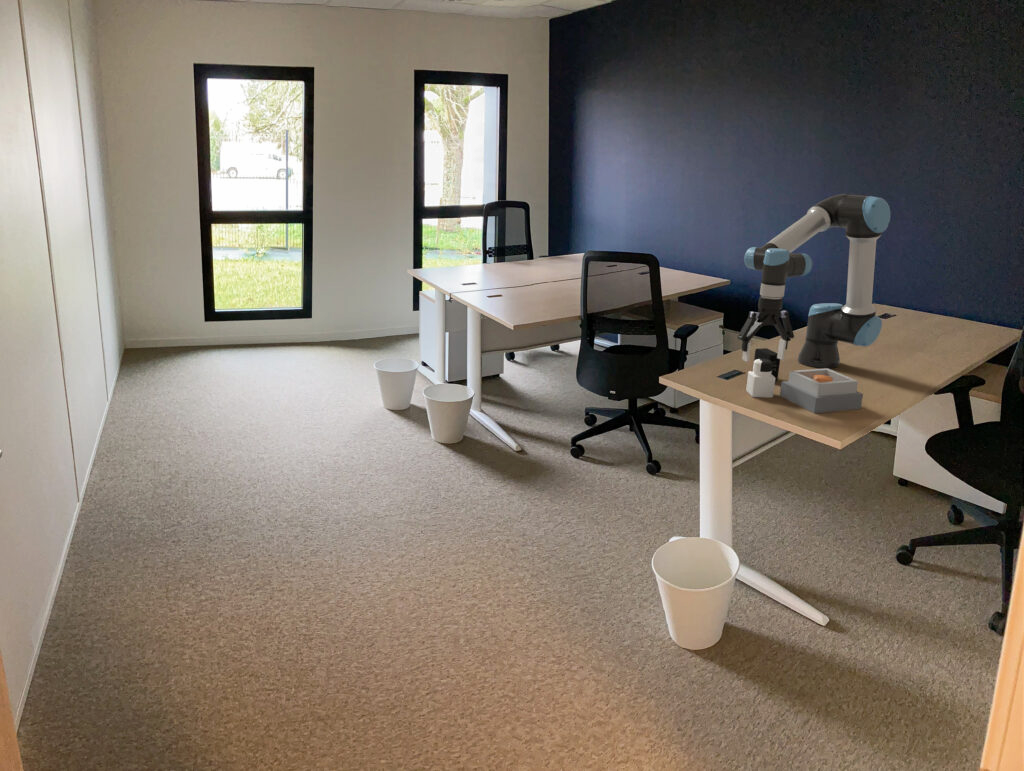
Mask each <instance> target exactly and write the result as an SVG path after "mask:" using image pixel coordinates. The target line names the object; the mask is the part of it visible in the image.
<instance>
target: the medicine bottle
mask: <svg viewBox="0 0 1024 771" xmlns="http://www.w3.org/2000/svg"><path fill="white" fill-rule="evenodd" d="M772 365H773V363H772V362H771V361H770V360H767V359H757V360H755V361H754V360H753V367H752V371H751V370H750V371H749V370H748V372H747V379H746V380H747V381H746V389H745V391H746V392H747V393H748V394H749V395H750V396H751V398H766V399H768V398H770V399H771V398H773V397H774V392H775V385H776V381H775V377H774V376H773V375H772V374H771V373H772Z"/></svg>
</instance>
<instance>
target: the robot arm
mask: <svg viewBox="0 0 1024 771" xmlns="http://www.w3.org/2000/svg"><path fill="white" fill-rule="evenodd" d="M890 222H891V209H890V205H889V204H888V202H887V201H886V199H884V198H882V197H878V196H873V195H862V194H861V195H859V194H858V195H857V194H849V193H842V194H836V195H833V196H830V197H828V198H825V199H824V200H821V201H819V202H818V203H816V204H814V205H813V206H811V207H810V208H809V209H808V210H807V212H806V214H805V215H803V216H802V217H801V218H800V219H798V220H797V221H795V222H794V223H793V224H791V225H790V226H789V227H787V228H786V229H784V230H783V231H781V232H780V233H779V234H777V235H776V236H775V237H773V238H772V239H771V240H770V241H768V242H767V243H765V244H764V245H763V246H760V247H759V246H752V247H749V248H748V249H746V252H745V254H744V257H743V259H744V260H743V261H744V265H745V267H746V268H748V269H752V270H755V271H760V272H762V276H761V281H760V282H761V283H760V289H759V295H760V296H759V298H758V304H757V307H758V311H757V312H756V311H749V312H748V316H747V318H746V321H745V323H744V325H743V326H742V328H741V329H740V332H739V333H738V336H737V339H738V340H740V341H742V342H741V351H742V358H741V360H742V361H745V362H747V363H749V362H750V355H751V354H750V353H751V346H752V342H750V341H751V340H752V339H753V338H754V336H755V335H756V334H757V333H758V331H760V329H761V328H762V327H765V326H774V327H775V329H776V331H777V333H778V334H779V335H780V339H779V340H778V349H777V353H778V354H777V358H778V359H780V361H784V360H785V355H786V354H785V353H786V350H787V349H788V344H789V342H790V341H791V340H792V339H794V338H795V334H794V331H793V327H792V324H791V321H790V312H789V310H788V311H787V310H785V309H783V303H784V299H783V298H784V296H785V288H786V279H787V278H797V277H798V278H800V277H803V276H807V275H808V274H809V273H810V272H811V271H812V268H813V260H812V258H811V256H810V255H808V253H802V252H797V253H795V252H794V251H795V250H797V249H798V248H799V247H801V246H802V245H803V244H805V243H806V242H807V241H809V240H810V239H811V238H813V237H814V236H815V235H817V234H818V233H819V232H820V233H821V232H825V231H827V230H828V229H830V228H841V229H845V237H846V238H847V239H848V240H849V253H848V268H847V283H846V284H847V285H846V286H847V287H846V301H845V304H844V305H843V304H841V303H836V302H831V303H830V302H827V303H826V302H825V303H824V302H821V303H814V304H813V305H811V306H810V308H809V311H808V315H807V317H808V318H807V326H806V332H805V339H804V340H805V341H804V343H803V346H802V348H801V350H800V352H799V353H798V357H797V362H798V363H800V364H802V365H804V366H808V367H813V368H818V369H825V368H828V369H832V368H833V369H835V368H837V367H839V366H840V362H841V358H840V353H839V348H838V344H839V342H842V343H847V344H851V345H853V346H858V347H869V346H871V345H872V344H874V343H875V341H877V338H879V335H880V334H881V331H882V326H883V321H882V318H881V317H880V316H878V315H876V314H877V313H876V312H877V308H876V307H875V306H874V305H873V292H874V290H873V289H874V278H875V277H874V275H875V261H876V251H877V250H876V248H877V240H878V239H879V238H880V237H881V236H882V233H884V232H885V231H886V230H887V228H888V227H889V224H890ZM793 252H794V253H793ZM780 317H781V321H782V323H781V321H780Z"/></svg>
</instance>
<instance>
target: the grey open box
mask: <svg viewBox="0 0 1024 771" xmlns="http://www.w3.org/2000/svg"><path fill="white" fill-rule="evenodd" d="M814 375H826V376H830V377H832V378H833V381H832V382H821V383H820V382H817V381H815V380H813V376H814ZM858 384H859V380H856V379H854V378H851V377H849V376H847V375H845V374H842V373H840V372H837V371H835V370H833V369H831V368H814V369H812V368H811V369H799V370H789V375H788V380H785V381H781V385H780V390H779V391H780V392H779V396H780V397H782V398H783V399H785V400H788V401H790V402H791V403H793V404H795V405H797V406H799V407H801V408H803V409H805V410H807V411H809V412H811V413H813V414H819V413H828V412H830V413H831V412H832V413H833V412H840V411H849V410H850V411H851V410H852V411H853V410H861V409H862V403H863V399H864V398H863V397H864V393H862V392H859V391H857V389H858Z"/></svg>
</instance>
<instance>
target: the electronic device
mask: <svg viewBox="0 0 1024 771" xmlns="http://www.w3.org/2000/svg"><path fill="white" fill-rule="evenodd" d="M777 354H778V352H776V351H773V350H771V349H769V348H764V347H762V348H756V349H755V350H754V357H753V362H754V361H755V360H757V359H767V360H770V361H771V362H772V363H773V365H772V373H771V374H772V375H773V376H774V377H775V382H778V380H779V379H778V378H779V371H780V365H781V364H780V362H781V359H778V358H777Z"/></svg>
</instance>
